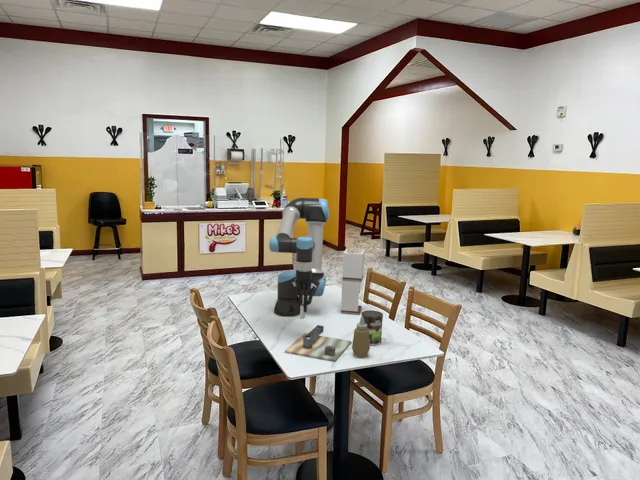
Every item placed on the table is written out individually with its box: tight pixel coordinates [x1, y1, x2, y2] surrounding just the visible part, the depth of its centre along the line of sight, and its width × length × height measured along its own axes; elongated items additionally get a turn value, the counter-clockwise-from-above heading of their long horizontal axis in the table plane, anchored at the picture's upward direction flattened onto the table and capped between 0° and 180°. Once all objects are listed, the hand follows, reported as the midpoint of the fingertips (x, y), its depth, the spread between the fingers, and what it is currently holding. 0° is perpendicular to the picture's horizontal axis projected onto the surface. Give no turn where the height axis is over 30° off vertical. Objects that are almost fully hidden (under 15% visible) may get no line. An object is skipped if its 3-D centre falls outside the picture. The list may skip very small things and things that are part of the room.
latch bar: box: [303, 324, 325, 348], centre depth 233 cm, size 18×4×5 cm, turn 159°
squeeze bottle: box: [351, 315, 371, 358], centre depth 221 cm, size 8×8×18 cm
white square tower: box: [340, 248, 365, 316], centre depth 281 cm, size 11×11×35 cm
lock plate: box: [284, 332, 352, 363], centre depth 229 cm, size 24×24×7 cm
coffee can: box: [360, 310, 384, 346], centre depth 238 cm, size 10×10×14 cm
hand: (302, 318), depth 237 cm, fingers closed
